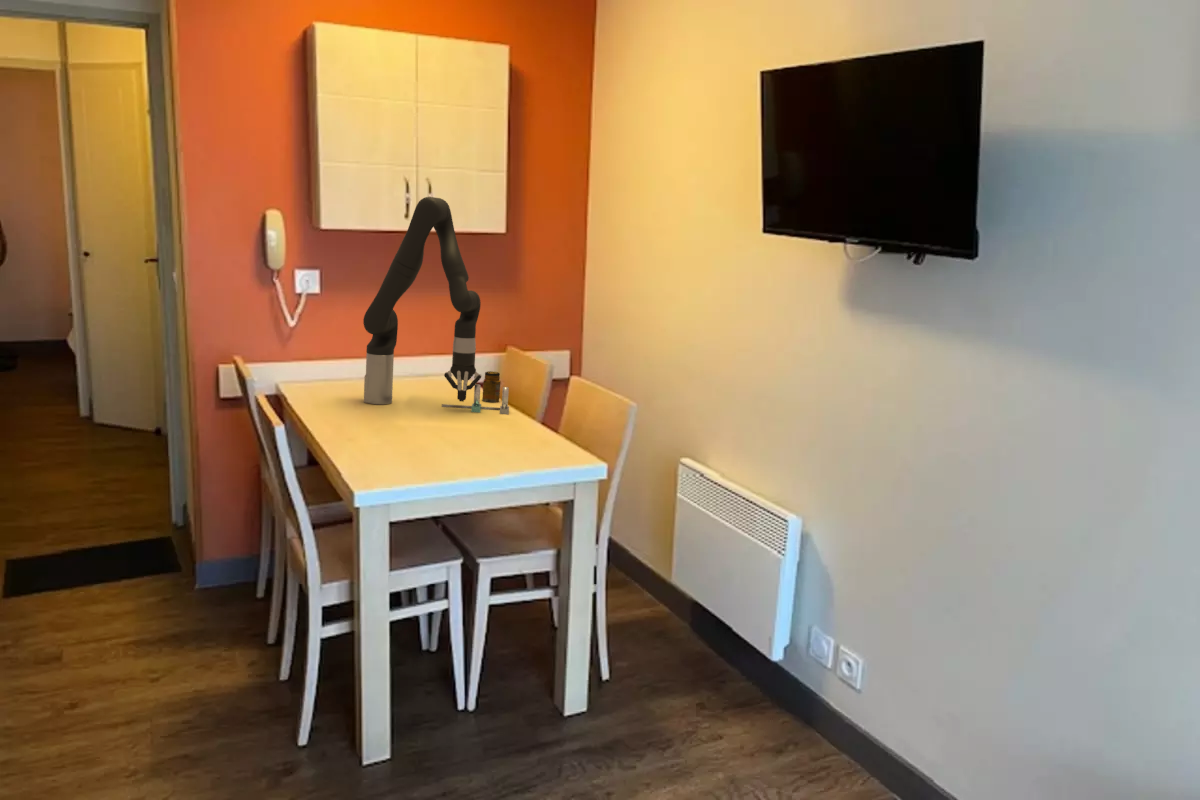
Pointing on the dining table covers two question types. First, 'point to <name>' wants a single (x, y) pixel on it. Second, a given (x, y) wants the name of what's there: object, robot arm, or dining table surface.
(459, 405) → the gauge board
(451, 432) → the dining table surface
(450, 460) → the dining table surface
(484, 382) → the condiment
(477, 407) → the slider leg
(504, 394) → the fixed leg
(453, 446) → the dining table surface
